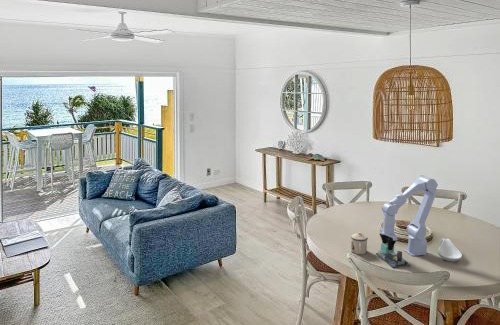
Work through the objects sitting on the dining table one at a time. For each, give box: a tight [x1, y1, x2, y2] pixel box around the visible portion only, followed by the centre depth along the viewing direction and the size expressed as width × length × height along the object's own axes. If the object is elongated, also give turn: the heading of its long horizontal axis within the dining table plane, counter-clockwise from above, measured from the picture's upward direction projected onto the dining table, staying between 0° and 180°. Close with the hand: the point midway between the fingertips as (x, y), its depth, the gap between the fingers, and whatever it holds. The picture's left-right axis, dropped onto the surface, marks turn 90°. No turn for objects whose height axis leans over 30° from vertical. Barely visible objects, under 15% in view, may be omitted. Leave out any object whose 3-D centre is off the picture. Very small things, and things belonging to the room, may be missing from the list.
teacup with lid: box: [350, 231, 369, 255], centre depth 224 cm, size 12×9×12 cm
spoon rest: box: [437, 238, 463, 263], centre depth 220 cm, size 24×12×7 cm, turn 165°
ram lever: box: [393, 250, 405, 265], centre depth 209 cm, size 4×6×6 cm, turn 11°
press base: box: [375, 250, 411, 269], centre depth 215 cm, size 10×18×2 cm, turn 11°
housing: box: [380, 242, 395, 254], centre depth 219 cm, size 5×5×5 cm
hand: (387, 248), depth 219 cm, fingers closed on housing, 5 cm apart
